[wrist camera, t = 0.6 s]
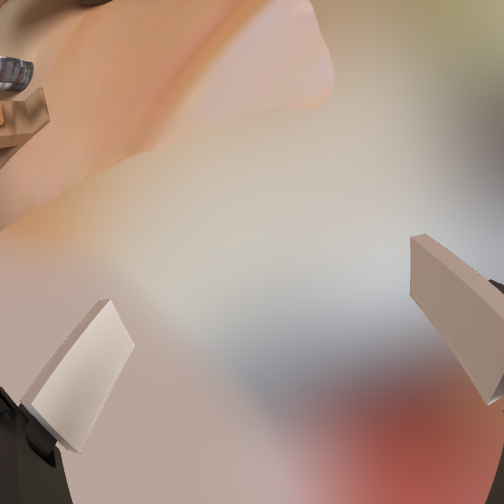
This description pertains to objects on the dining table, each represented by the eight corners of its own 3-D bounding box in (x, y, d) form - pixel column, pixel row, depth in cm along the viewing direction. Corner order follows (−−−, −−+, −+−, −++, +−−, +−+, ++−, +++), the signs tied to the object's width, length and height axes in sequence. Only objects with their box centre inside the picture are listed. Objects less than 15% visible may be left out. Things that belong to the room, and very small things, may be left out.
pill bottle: (26, 56, 28) (-16, 49, 17) (39, 67, 29) (-6, 60, 18) (11, 83, 29) (-31, 82, 19) (22, 96, 31) (-22, 95, 20)
